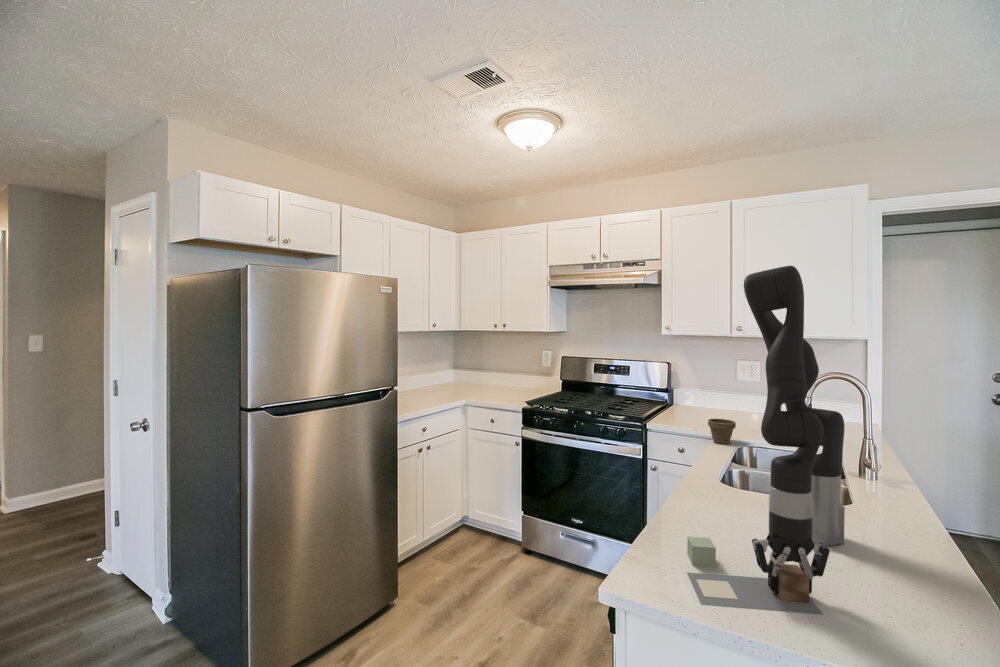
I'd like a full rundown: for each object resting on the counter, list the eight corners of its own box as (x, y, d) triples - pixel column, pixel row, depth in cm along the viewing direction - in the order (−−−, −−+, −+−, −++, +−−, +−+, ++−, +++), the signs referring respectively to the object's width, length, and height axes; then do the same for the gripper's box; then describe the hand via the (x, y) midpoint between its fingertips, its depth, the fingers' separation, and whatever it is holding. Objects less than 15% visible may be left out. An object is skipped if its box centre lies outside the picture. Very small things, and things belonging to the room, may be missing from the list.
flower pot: (734, 440, 221) (734, 419, 220) (736, 447, 210) (737, 424, 210) (707, 438, 225) (707, 417, 225) (708, 444, 214) (708, 422, 214)
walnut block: (797, 588, 98) (797, 565, 98) (809, 603, 94) (809, 578, 93) (771, 586, 99) (771, 563, 99) (781, 600, 94) (781, 576, 94)
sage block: (709, 558, 112) (709, 537, 112) (715, 569, 108) (715, 547, 107) (687, 557, 113) (687, 536, 113) (692, 568, 108) (692, 546, 108)
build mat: (794, 582, 102) (794, 579, 102) (823, 617, 90) (823, 613, 90) (686, 575, 105) (686, 571, 105) (701, 607, 93) (701, 603, 93)
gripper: (819, 504, 99) (818, 585, 99) (745, 501, 101) (745, 580, 101) (839, 519, 91) (838, 607, 92) (759, 515, 93) (758, 601, 94)
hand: (789, 592), depth 96 cm, fingers closed on walnut block, 5 cm apart
